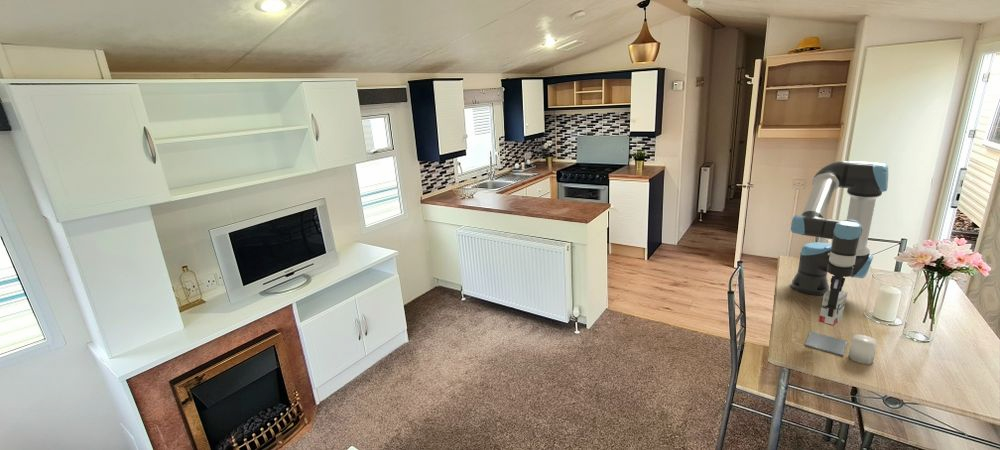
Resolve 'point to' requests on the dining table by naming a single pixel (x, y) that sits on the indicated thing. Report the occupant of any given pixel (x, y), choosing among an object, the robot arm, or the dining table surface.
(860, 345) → the white rounded cylinder
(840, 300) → the ink box
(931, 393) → the dining table surface
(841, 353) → the slate tile
